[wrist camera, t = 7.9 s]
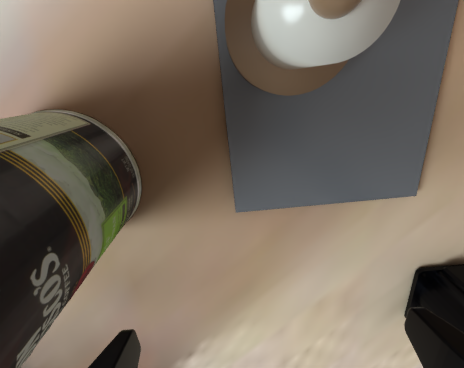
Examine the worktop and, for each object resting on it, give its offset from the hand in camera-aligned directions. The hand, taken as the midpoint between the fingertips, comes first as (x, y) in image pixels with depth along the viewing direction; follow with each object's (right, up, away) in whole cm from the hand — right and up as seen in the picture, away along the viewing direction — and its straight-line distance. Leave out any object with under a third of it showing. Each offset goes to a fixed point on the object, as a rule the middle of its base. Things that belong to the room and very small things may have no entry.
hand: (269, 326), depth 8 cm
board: (+5, +11, +9) cm, 15 cm away
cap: (+2, +13, +4) cm, 14 cm away
